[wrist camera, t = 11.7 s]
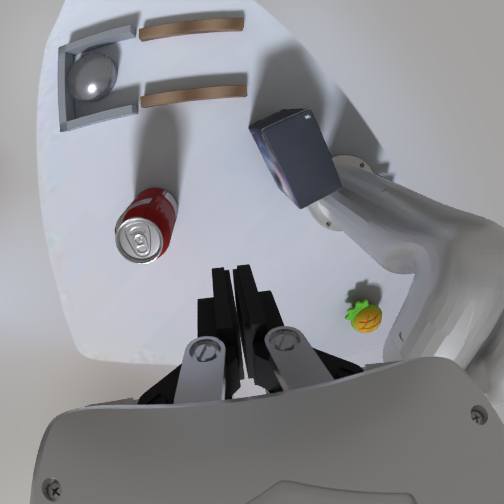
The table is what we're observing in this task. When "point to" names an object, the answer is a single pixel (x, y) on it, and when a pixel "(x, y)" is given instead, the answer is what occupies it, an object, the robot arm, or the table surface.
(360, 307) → the toy pineapple
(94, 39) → the grey u-shaped frame
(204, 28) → the walnut slot
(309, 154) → the small box
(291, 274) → the table surface
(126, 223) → the soda can
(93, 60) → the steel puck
